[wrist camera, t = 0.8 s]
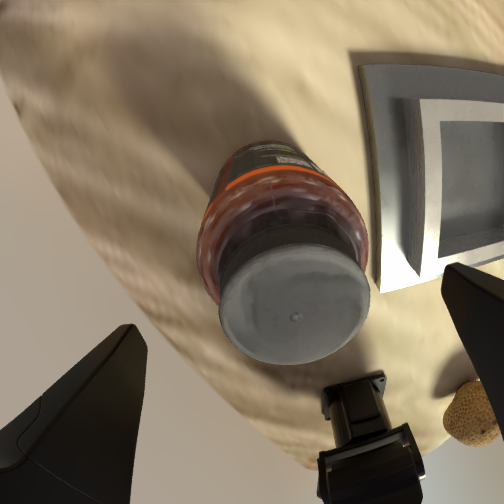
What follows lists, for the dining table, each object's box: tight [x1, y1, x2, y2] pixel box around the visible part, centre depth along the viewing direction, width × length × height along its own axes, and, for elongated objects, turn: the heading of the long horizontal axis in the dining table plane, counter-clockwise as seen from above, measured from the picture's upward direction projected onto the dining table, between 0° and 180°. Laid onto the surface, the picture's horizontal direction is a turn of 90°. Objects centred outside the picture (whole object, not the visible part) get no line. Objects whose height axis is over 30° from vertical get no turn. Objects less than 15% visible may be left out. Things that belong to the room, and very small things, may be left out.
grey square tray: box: [358, 64, 504, 293], centre depth 15 cm, size 15×15×3 cm
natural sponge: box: [443, 381, 501, 447], centre depth 25 cm, size 9×9×10 cm
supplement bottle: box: [197, 141, 370, 365], centre depth 12 cm, size 6×6×11 cm
